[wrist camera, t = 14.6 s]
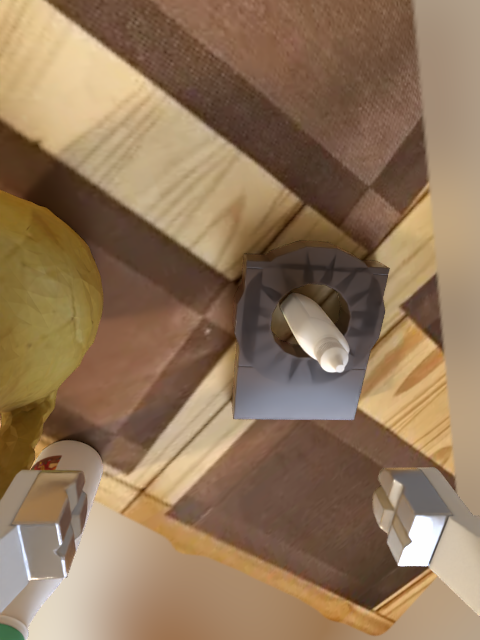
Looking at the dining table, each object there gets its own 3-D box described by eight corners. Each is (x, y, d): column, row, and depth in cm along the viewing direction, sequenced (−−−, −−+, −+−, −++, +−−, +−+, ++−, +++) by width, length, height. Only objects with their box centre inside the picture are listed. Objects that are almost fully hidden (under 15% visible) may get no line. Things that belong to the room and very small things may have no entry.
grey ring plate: (238, 236, 37) (241, 242, 34) (385, 245, 38) (399, 252, 35) (226, 403, 44) (228, 419, 41) (349, 404, 46) (359, 420, 43)
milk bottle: (95, 433, 44) (18, 626, 26) (111, 481, 47) (52, 684, 29) (29, 442, 44) (-96, 644, 26) (49, 490, 47) (-50, 701, 29)
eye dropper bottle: (314, 281, 39) (357, 328, 28) (329, 326, 41) (374, 386, 30) (275, 297, 39) (303, 350, 28) (292, 341, 42) (324, 405, 31)
